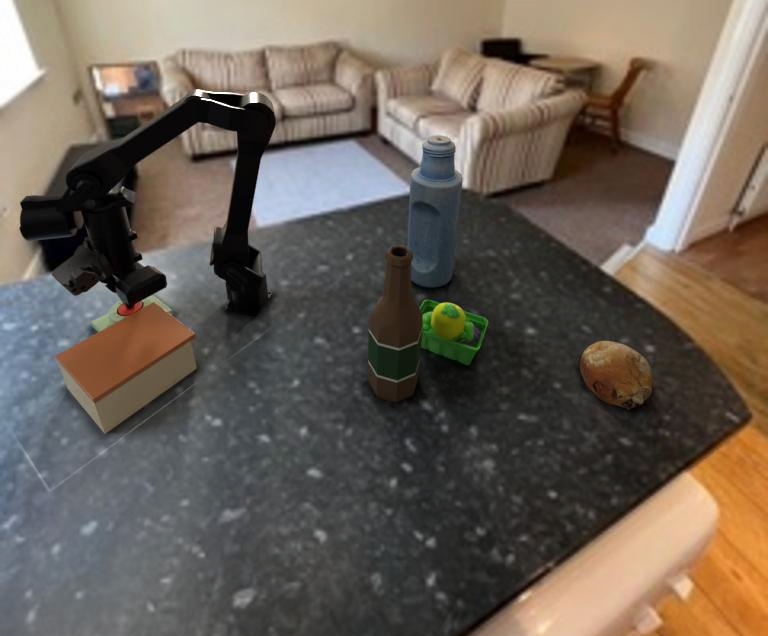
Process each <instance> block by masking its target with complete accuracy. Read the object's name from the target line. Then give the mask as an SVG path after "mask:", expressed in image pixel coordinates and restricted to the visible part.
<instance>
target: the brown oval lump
mask: <svg viewBox="0 0 768 636" xmlns="http://www.w3.org/2000/svg"><path fill="white" fill-rule="evenodd" d="M579 365H580V366H579V367H580V373H581V377H582V378H583V381H584V383H585V385H586V387H587V388H588V389H589V391H590V392H591V393H592V394H593V395H594V396H595V397H596V398H598V399H599V400H600V401H602V402H604V403H606V404H608V405H611V406H616V407H619V408H622V409H627V410H631V409H633V408H636V407H641V406H642V405H643V404H644V402H645V401H646V400H647V399H648V398H649V397H650V396H651V394H652V393H653V386H654V375H653V374H654V373H653V370H652V368H651V366H650V363H649V362H648V360H647V359H646V358H645V357H644V356H643V355H641V353H639V352H637V351H636V350H635V349H633V348H631V347H630V346H627V345H626V344H623V343H621V342H616V341H613V340H612V341H611V340H600V341H597V342H595V343H592V344H590V345H588V346H587V348H586V349H585V350H584V351H583V352H582V355H581V359H580V364H579Z"/></svg>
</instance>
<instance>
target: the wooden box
mask: <svg viewBox="0 0 768 636" xmlns="http://www.w3.org/2000/svg"><path fill="white" fill-rule="evenodd" d="M56 362H57V364H58V367H59V369H60V372H61V375H62V378H63V380H64V382H65V385H66V388H67V390H68V391H69V392H70V394H72V396H73V397H74V398H75V399H76V401H77V403H79V404H80V406H81V407H82V408H83V409H84V410H85V412H86V413H87V414H88V415H89V417H90V418H91V419H92V420H93V421H94V423H95V424H96V425H97V426H98V427H99V429H100V430H101V431H102V432H103V433H104V434H105V435H106V434H107V433H108V432H110V431H112V430H113V429H114V428H115V427H117V426H118V425H119V424H121V423H122V422H124V421H125V420H127V419H128V418H129V417H131V416H132V415H134V414H136V413H137V412H138V411H139V410H141V409H142V408H144V407H145V406H146V405H148V404H149V403H150V402H152V401H153V400H155V399H156V398H158V397H159V396H160V395H162V394H163V393H164V392H166V391H167V390H169V389H170V388H172V387H173V386H174V385H176V384H177V383H179V382H180V381H181V380H183V379H184V378H186V377H187V376H189V374H191V373H193V372H194V371H195V370H196V369H198V368H197V363H196V359H195V354H194V349H193V345H192V340H191V341H190V342H188V343H187V344H185V345H184V346H182V347H181V348H179V349H177V350H176V351H174V352H173V353H171V354H170V355H168V356H167V357H165V358H164V359H162V360H161V361H159V362H158V363H156V364H154V365H153V366H151V367H150V368H148V369H147V370H145V371H144V372H142V373H141V374H139V375H138V376H136V377H135V378H133V379H131V380H130V381H128V382H127V383H125V384H124V385H122V386H121V387H119V388H118V389H116V390H115V391H113V392H111V393H110V394H108V395H107V396H105V397H104V398H102V399H101V400H99V401H98V402H96V403H93V402H92V400H91V399H90V398H89V397H88V396H87V395H86V393H85V392H84V391H83V390H82V389H81V388H80V386H79V385H78V384H77V383H76V382H75V381H74V379H73V378H72V377H71V376H70V375H69V374H68V372H67V371H66V370H65V369H64V368H63V367H62V365H61V364H60V363H59V362H58V361H57V360H56Z"/></svg>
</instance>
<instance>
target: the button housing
mask: <svg viewBox="0 0 768 636" xmlns="http://www.w3.org/2000/svg"><path fill="white" fill-rule="evenodd" d="M140 302H141V303H142V307H143V308H144V307H146V306H147V305H149V304H151V303H153V302H155V303H156V304H158V305H159V306H160V307H162V308H163V309H164V310H165V311H167V312H168V313H169V314H170V315H172V316H173V315H174V313H173V310H172V308H171V307H169V306H168V305H166V304H165V303H164V302H163V301H161V300H159V298H158V297H156V296H154V294H153V295H151V296H149V297H147V298H145V299H144V300H142V301H140ZM121 305H123V303H122V301H121V300H120V299H119V300H118V301H116V302H115V303H114V304H113V305H111V307H110V308H109V309H108V312H107V313H105V314H103V315H102V316H99V317H98V318H96V319H94V320H92V321H91V325H92V327H93V328H94V330H96V332H97V333H98V332H100V331H102V330H103V329H105V328H107V327H109V326H111V325H113V324H114V323H116V322H118V321H120V320H122V319H124V318H125V317H127V316H120V315H119V312H118V310H119V308H120V306H121Z"/></svg>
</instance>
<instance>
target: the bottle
mask: <svg viewBox="0 0 768 636" xmlns="http://www.w3.org/2000/svg"><path fill="white" fill-rule="evenodd" d="M421 149H422V157H421V161H420V166H418V167H417V168H415V169H413V170H412V172H411V174H410V183H409V186H410V187H409V200H408V225H407V245H406V247H408V248H409V249H410V250H411V251H412V253H413V257H414V258H413V260H412V262H411V283H413V284H415V285H417V286H419V287H421V288H422V287H423V288H429V289H433V288H439V287H443V286H445V285H447V284H449V282H450V281H451V280H452V278H453V273H454V272H453V271H454V262H455V261H454V260H455V251H456V245H457V236H458V235H457V234H458V225H459V217H460V209H461V199H462V189H463V182H464V180H463V179H464V178H463V175H462V173H461V172H460V171H458V170H457V169H456V164H455V154H456V150H457V147H456V144H455V142H454V141H452V139H451V138H450V137H448V136H446V135H441V134H435V135H431V136H428V137H427V139H425V140H424V141H423V142H422V144H421Z"/></svg>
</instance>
